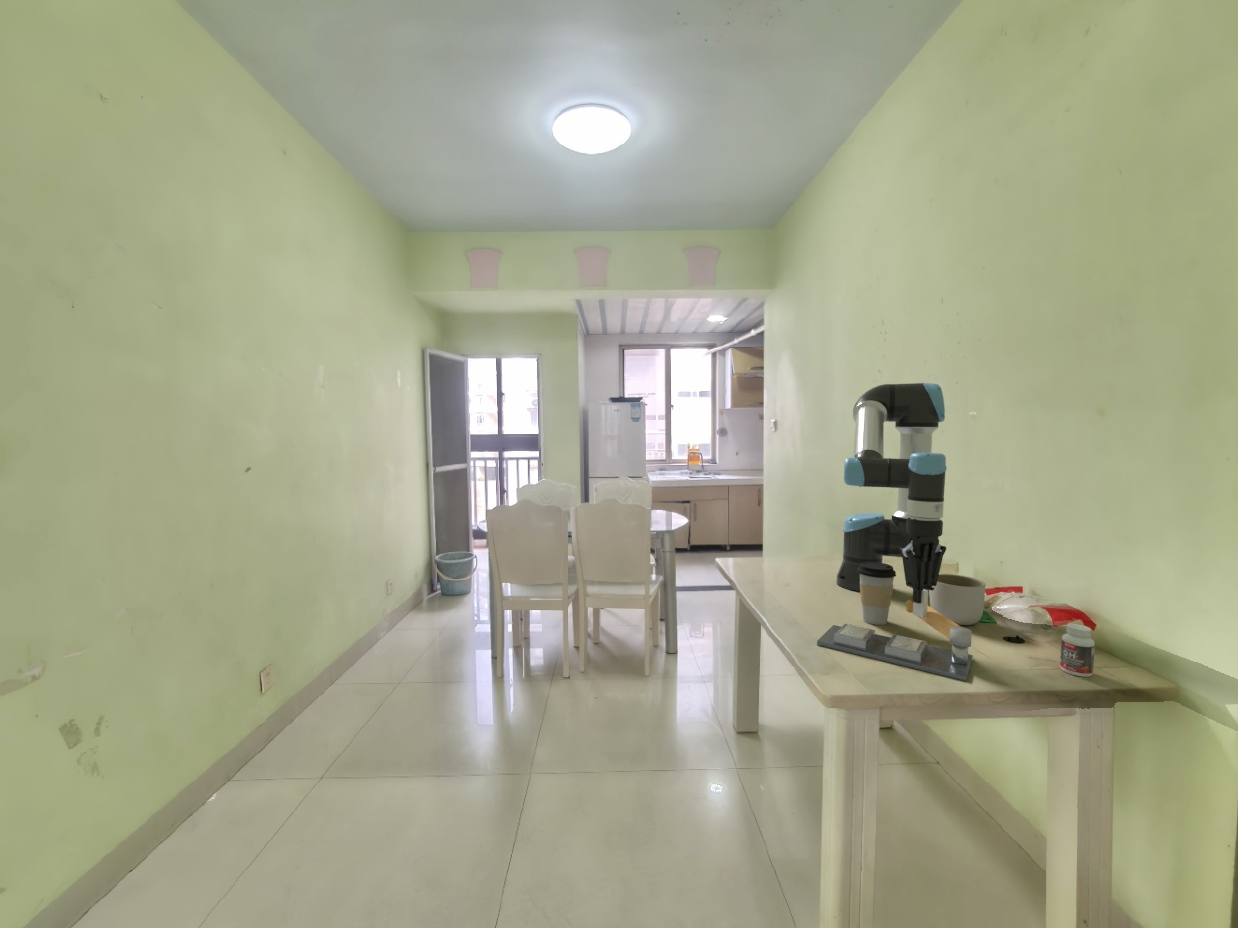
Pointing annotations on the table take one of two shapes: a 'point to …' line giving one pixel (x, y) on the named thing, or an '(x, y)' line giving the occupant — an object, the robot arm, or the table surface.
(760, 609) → the table surface
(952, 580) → the planter
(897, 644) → the grey switch panel
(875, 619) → the coffee cup
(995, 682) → the table surface
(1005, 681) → the table surface
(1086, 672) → the pill bottle
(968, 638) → the swing arm
